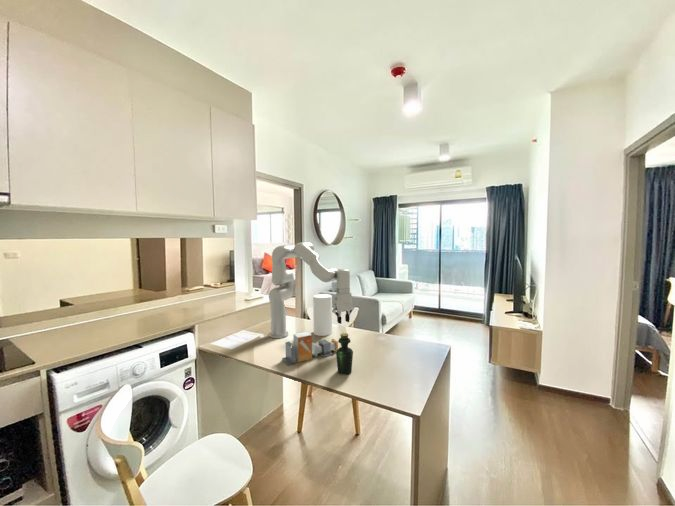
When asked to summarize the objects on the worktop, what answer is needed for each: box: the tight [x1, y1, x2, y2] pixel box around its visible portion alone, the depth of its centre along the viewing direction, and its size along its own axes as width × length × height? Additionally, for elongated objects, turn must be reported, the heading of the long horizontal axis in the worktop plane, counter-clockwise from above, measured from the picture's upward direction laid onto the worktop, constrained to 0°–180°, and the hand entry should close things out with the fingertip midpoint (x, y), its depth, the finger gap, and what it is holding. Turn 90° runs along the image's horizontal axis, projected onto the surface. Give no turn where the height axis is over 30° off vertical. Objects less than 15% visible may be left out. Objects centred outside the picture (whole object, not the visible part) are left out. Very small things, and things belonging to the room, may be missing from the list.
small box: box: [293, 331, 313, 363], centre depth 149 cm, size 8×6×13 cm
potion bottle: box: [335, 332, 354, 376], centre depth 134 cm, size 8×8×18 cm
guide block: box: [317, 339, 333, 358], centre depth 156 cm, size 9×5×6 cm, turn 31°
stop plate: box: [281, 341, 296, 367], centre depth 145 cm, size 8×4×9 cm, turn 31°
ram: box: [312, 338, 339, 358], centre depth 156 cm, size 6×14×6 cm, turn 121°
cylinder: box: [312, 293, 333, 337], centre depth 189 cm, size 12×12×25 cm
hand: (343, 322), depth 162 cm, fingers open, 4 cm apart
